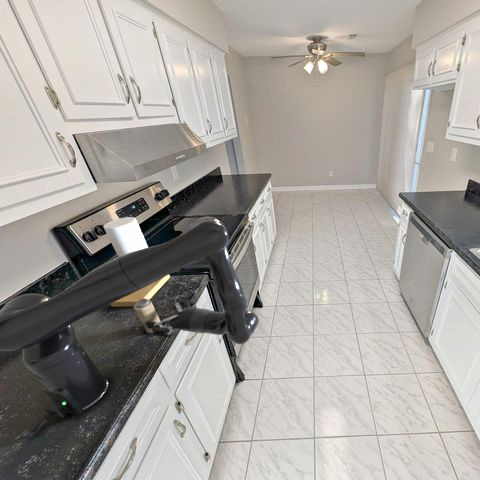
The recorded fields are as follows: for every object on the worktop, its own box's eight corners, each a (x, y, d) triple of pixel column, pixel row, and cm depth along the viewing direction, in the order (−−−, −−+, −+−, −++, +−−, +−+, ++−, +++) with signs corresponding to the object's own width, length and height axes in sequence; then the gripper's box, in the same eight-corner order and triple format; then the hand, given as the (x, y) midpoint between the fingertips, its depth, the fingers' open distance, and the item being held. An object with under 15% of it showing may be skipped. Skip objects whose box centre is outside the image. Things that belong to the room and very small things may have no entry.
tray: (143, 306, 102) (140, 301, 100) (111, 306, 103) (108, 301, 101) (170, 277, 119) (168, 272, 118) (142, 277, 120) (140, 273, 119)
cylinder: (123, 268, 128) (100, 223, 116) (150, 258, 136) (131, 215, 124) (130, 277, 120) (106, 230, 109) (158, 265, 128) (139, 220, 117)
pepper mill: (154, 334, 88) (141, 308, 83) (142, 332, 89) (129, 306, 84) (165, 323, 93) (153, 297, 87) (153, 321, 94) (141, 296, 88)
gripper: (208, 297, 88) (168, 292, 91) (180, 328, 75) (135, 322, 79) (213, 313, 91) (175, 308, 95) (187, 346, 79) (144, 338, 82)
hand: (157, 314), depth 87 cm, fingers open, 8 cm apart
